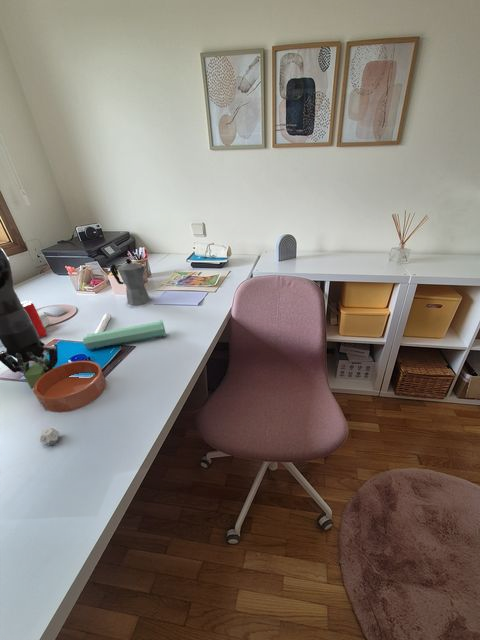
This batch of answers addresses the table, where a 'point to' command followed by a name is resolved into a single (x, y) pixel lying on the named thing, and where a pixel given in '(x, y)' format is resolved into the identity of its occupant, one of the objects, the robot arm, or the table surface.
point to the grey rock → (49, 436)
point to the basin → (69, 386)
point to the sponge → (33, 374)
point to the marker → (103, 323)
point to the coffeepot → (132, 281)
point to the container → (124, 335)
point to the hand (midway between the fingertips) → (43, 379)
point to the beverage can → (34, 318)
